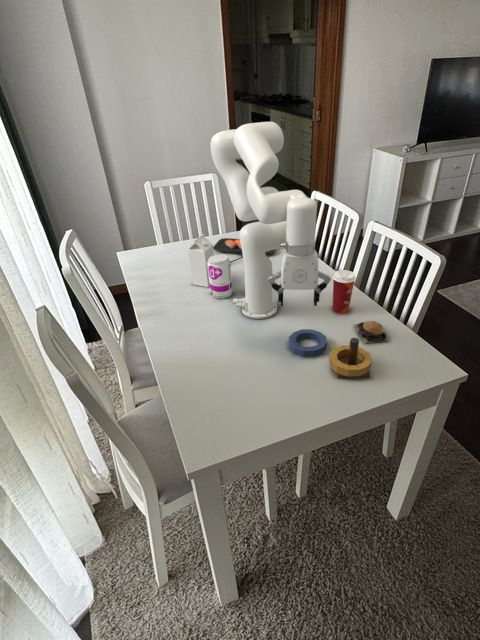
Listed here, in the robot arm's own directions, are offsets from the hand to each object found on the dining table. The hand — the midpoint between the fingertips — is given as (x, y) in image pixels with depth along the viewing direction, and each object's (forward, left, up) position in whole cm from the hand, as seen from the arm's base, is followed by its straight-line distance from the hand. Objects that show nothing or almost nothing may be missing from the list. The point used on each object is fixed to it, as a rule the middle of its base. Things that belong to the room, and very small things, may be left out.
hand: (298, 303), depth 118 cm
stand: (+15, -10, -16) cm, 24 cm away
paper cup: (+16, +23, -16) cm, 33 cm away
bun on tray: (+24, +8, -16) cm, 30 cm away
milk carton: (-36, +45, -16) cm, 60 cm away
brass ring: (+15, -10, -14) cm, 23 cm away
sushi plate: (-23, +71, -16) cm, 76 cm away
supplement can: (-28, +35, -16) cm, 48 cm away
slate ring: (+3, +1, -16) cm, 16 cm away
